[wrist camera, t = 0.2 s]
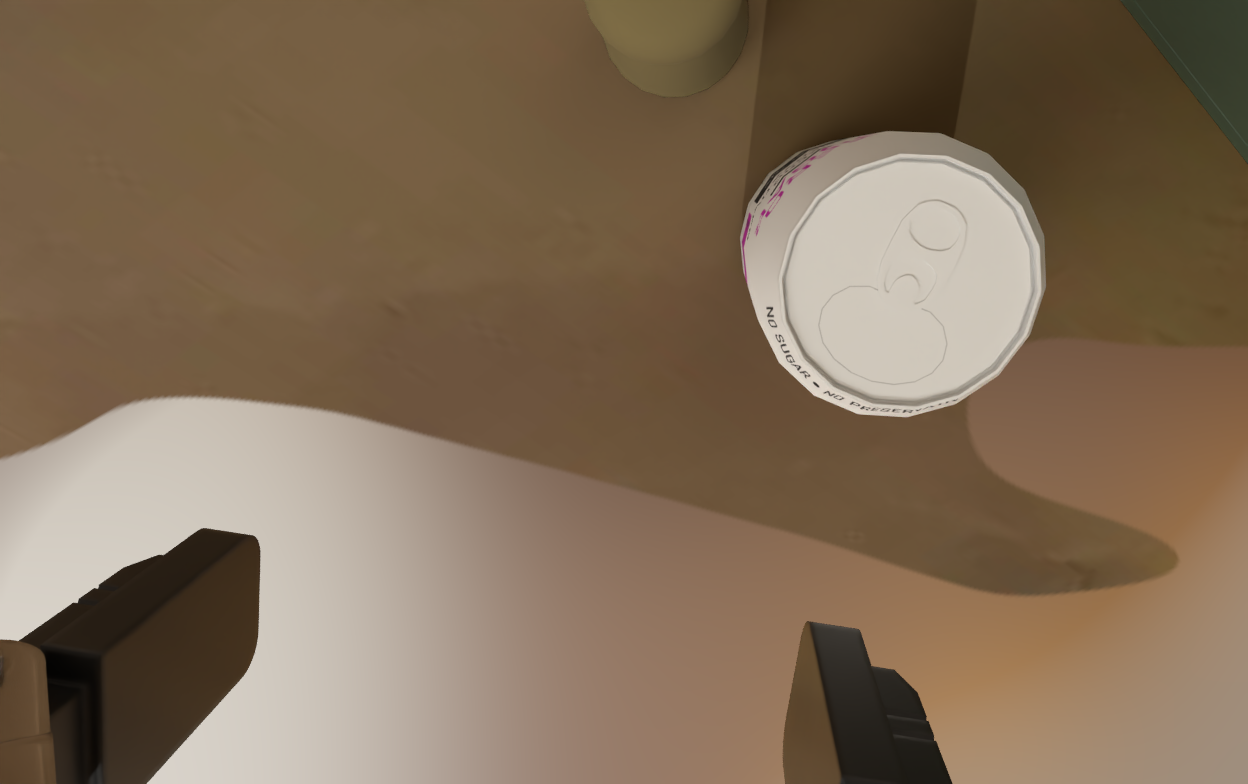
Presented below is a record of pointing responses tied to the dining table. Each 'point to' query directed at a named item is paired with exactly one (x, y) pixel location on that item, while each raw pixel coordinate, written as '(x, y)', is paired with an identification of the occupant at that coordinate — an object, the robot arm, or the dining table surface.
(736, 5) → the pawn
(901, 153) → the supplement can
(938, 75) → the dining table surface
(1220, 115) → the cupboard
